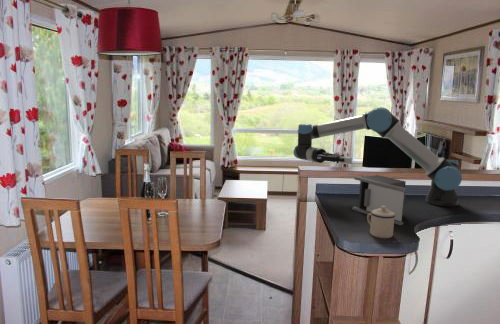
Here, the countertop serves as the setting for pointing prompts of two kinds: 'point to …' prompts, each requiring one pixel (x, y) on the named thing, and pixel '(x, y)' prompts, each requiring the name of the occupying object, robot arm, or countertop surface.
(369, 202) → the side door
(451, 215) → the countertop surface
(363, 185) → the small gray cabinet
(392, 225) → the teacup with lid
